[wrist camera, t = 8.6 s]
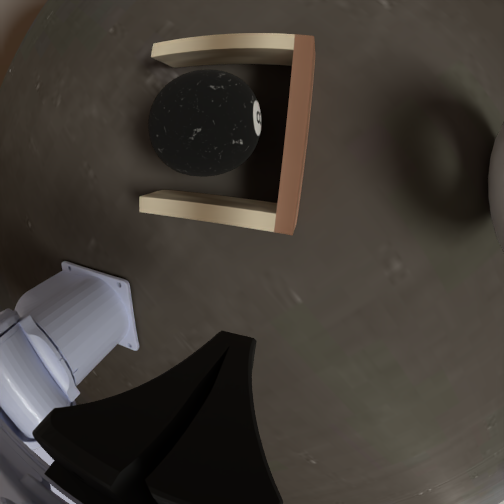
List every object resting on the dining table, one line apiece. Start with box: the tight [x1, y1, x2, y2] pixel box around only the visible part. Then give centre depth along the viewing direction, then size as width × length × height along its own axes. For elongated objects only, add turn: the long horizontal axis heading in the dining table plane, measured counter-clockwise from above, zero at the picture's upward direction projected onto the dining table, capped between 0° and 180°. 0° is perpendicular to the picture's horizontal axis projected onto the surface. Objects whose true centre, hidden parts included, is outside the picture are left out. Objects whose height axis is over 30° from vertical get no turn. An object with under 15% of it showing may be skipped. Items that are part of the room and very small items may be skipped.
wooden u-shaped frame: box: [139, 33, 315, 235], centre depth 15 cm, size 10×11×3 cm
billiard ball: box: [149, 70, 261, 176], centre depth 14 cm, size 6×6×6 cm
